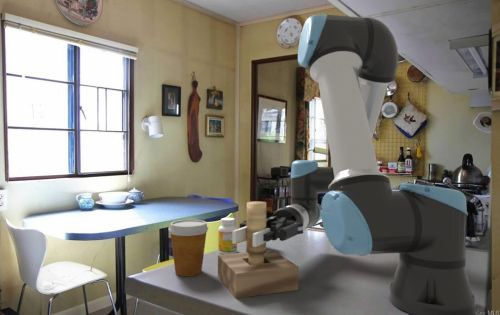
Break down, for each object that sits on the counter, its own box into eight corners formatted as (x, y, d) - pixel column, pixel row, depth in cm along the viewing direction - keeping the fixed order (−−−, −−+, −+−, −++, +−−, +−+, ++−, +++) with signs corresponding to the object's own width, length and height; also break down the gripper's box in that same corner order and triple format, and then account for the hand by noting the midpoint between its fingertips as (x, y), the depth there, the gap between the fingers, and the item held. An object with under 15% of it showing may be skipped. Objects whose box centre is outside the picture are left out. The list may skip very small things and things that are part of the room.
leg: (269, 275, 84) (270, 203, 83) (249, 278, 82) (250, 204, 82) (261, 269, 88) (262, 200, 88) (243, 271, 87) (243, 201, 86)
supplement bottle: (219, 249, 113) (219, 216, 113) (237, 249, 113) (237, 217, 112) (217, 254, 108) (217, 220, 107) (236, 254, 107) (236, 220, 107)
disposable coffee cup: (204, 264, 98) (204, 218, 98) (211, 276, 89) (211, 225, 89) (166, 268, 95) (166, 220, 95) (170, 280, 86) (170, 228, 86)
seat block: (298, 289, 81) (298, 266, 81) (235, 298, 76) (235, 273, 76) (272, 269, 94) (272, 249, 94) (217, 276, 90) (217, 254, 89)
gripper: (321, 238, 96) (280, 262, 76) (260, 230, 105) (210, 250, 85) (321, 209, 96) (281, 225, 76) (260, 203, 105) (210, 217, 85)
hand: (243, 238), depth 80 cm, fingers closed on leg, 4 cm apart
